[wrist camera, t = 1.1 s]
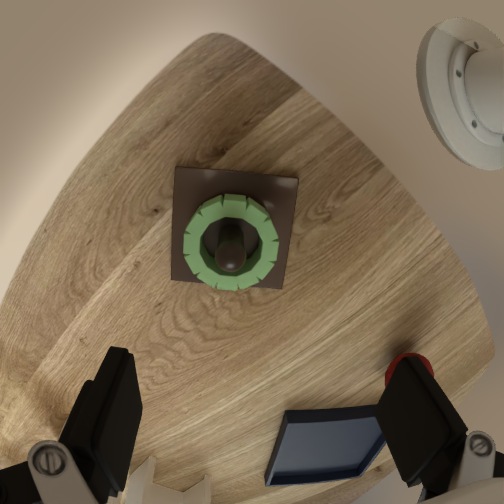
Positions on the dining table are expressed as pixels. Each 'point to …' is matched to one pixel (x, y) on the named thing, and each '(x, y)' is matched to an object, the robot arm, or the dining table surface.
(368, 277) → the dining table surface
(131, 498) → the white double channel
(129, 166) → the dining table surface
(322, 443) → the tray
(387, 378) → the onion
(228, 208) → the ring
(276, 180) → the stand
